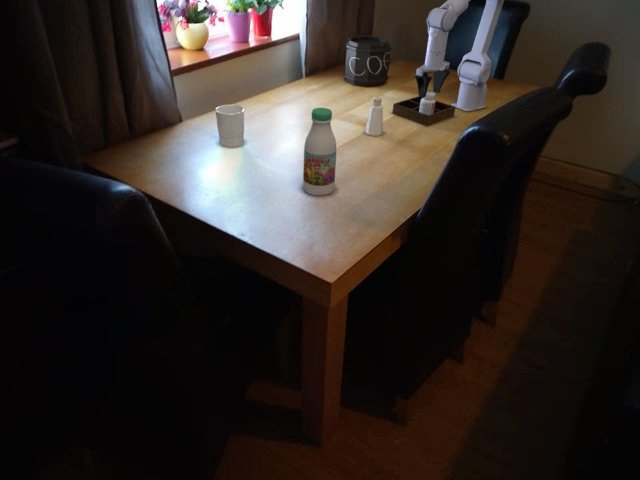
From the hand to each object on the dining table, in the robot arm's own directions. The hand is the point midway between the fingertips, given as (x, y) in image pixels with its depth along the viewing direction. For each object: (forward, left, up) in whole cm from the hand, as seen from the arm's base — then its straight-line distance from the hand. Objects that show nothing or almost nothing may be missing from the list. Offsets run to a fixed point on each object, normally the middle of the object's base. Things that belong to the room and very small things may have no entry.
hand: (429, 94), depth 164 cm
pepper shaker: (+23, +1, -9) cm, 24 cm away
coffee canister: (-8, -44, -9) cm, 45 cm away
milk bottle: (+58, +24, -9) cm, 63 cm away
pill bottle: (0, 0, -8) cm, 8 cm away
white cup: (+65, -12, -9) cm, 66 cm away
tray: (-2, -4, -9) cm, 10 cm away
